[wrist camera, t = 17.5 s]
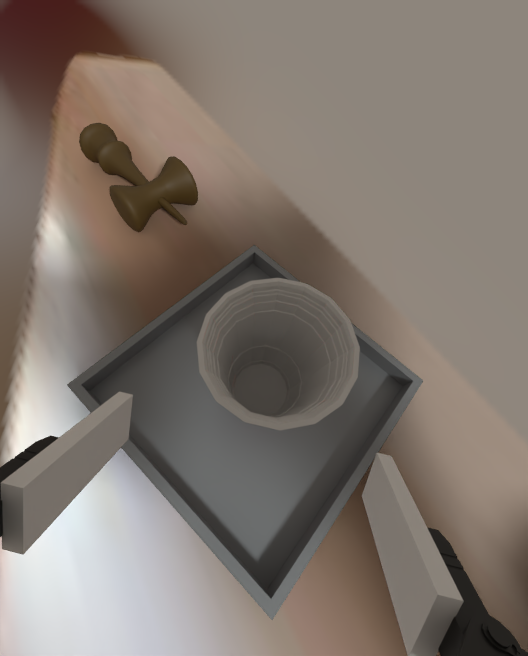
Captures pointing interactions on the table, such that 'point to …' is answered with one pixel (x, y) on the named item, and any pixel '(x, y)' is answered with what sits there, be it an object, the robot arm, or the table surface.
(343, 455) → the grey tray
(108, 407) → the robot arm
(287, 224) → the table surface
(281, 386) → the plastic cup
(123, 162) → the kendama
